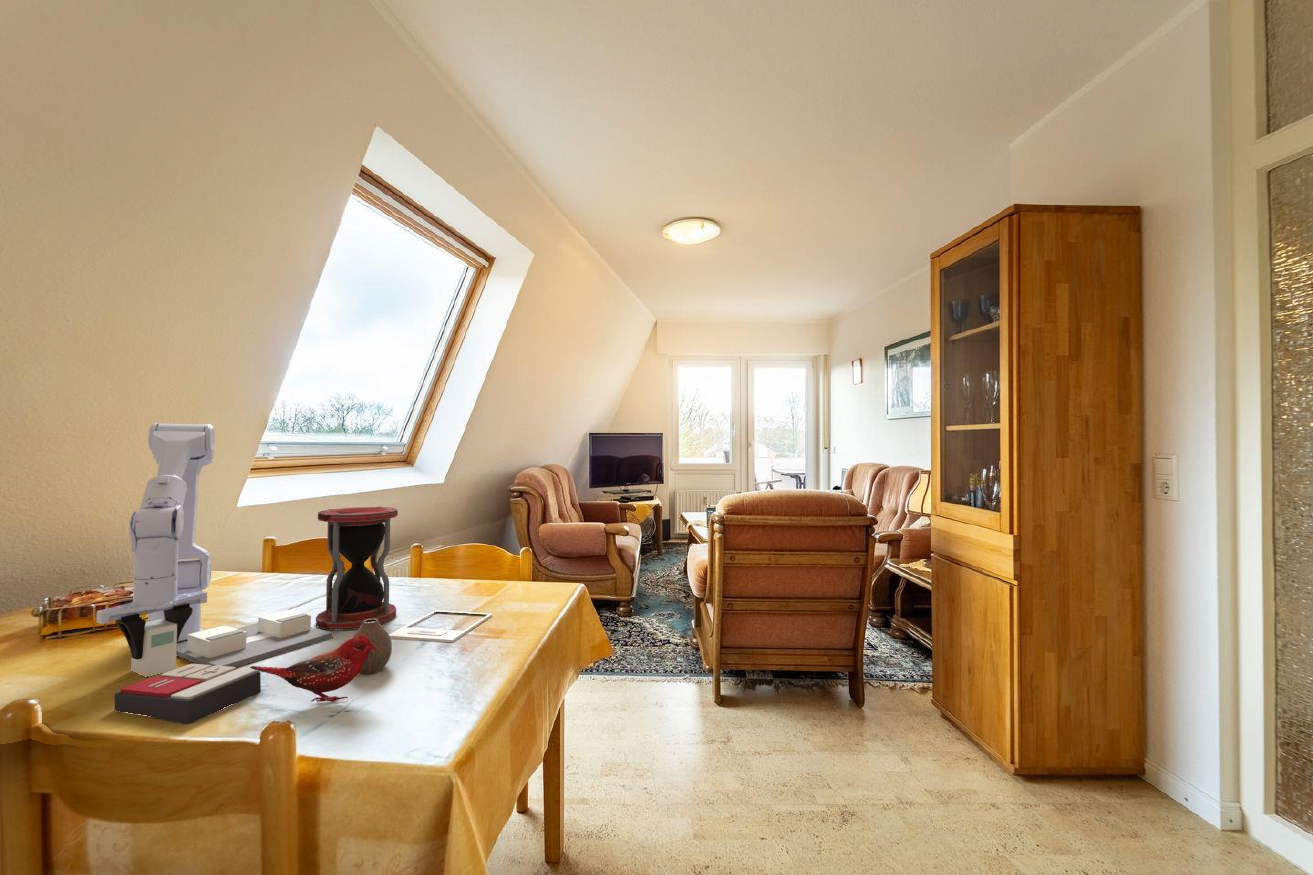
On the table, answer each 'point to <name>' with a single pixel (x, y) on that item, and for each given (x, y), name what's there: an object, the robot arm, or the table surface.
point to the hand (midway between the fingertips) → (154, 653)
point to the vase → (380, 640)
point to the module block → (157, 649)
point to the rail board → (251, 640)
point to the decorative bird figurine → (326, 668)
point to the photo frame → (433, 630)
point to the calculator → (188, 692)
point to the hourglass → (357, 567)
